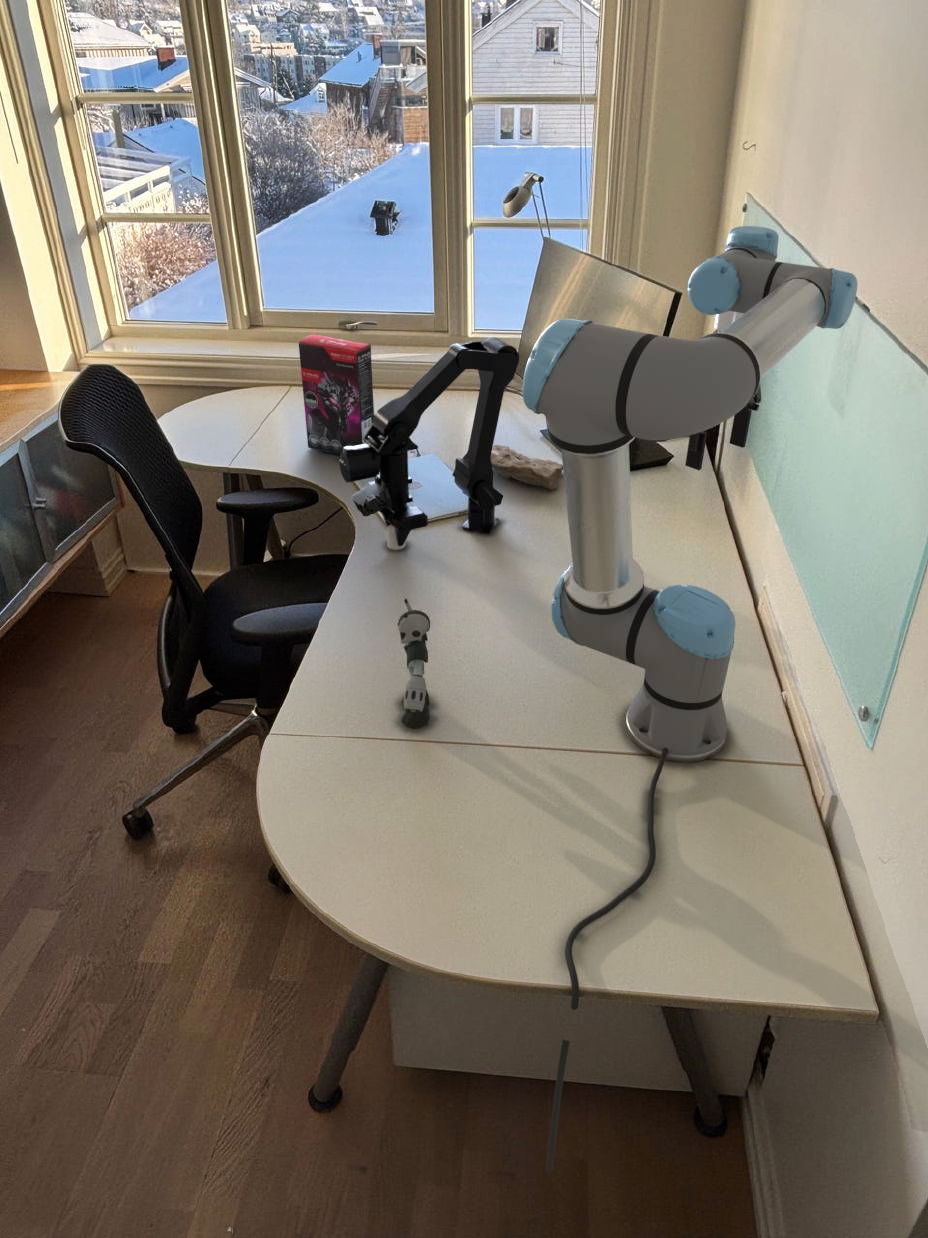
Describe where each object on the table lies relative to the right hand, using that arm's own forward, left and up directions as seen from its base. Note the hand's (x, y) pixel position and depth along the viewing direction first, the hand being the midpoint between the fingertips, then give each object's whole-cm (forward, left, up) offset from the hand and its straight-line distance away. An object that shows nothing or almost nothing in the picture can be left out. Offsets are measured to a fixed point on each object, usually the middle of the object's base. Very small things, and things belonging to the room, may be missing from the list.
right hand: (715, 456), depth 158 cm
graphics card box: (+46, +89, -29) cm, 104 cm away
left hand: (+4, +60, -28) cm, 67 cm away
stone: (+43, +44, -29) cm, 68 cm away
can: (+4, +60, -29) cm, 67 cm away
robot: (-46, +40, -29) cm, 68 cm away
